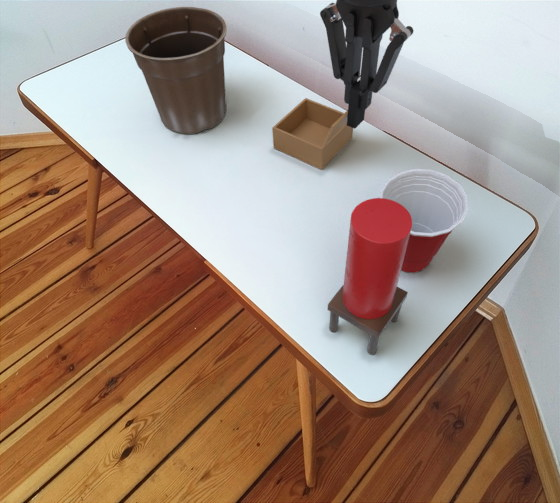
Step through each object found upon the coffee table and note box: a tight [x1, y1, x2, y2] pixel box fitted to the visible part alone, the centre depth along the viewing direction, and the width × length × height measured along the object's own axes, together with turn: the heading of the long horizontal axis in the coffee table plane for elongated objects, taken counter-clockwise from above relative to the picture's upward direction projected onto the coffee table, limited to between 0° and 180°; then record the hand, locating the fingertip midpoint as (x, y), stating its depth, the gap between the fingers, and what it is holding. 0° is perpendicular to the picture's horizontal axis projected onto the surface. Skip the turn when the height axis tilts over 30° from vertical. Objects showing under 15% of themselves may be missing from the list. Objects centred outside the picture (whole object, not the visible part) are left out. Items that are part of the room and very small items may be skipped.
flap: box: [322, 109, 348, 146], centre depth 81 cm, size 5×10×1 cm
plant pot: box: [124, 6, 228, 135], centre depth 89 cm, size 16×16×16 cm
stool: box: [327, 283, 409, 356], centre depth 64 cm, size 7×7×6 cm
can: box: [342, 197, 412, 319], centre depth 56 cm, size 6×6×14 cm
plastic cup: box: [379, 168, 469, 274], centre depth 68 cm, size 11×11×12 cm
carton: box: [272, 97, 354, 171], centre depth 87 cm, size 10×10×4 cm
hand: (355, 122), depth 80 cm, fingers closed
